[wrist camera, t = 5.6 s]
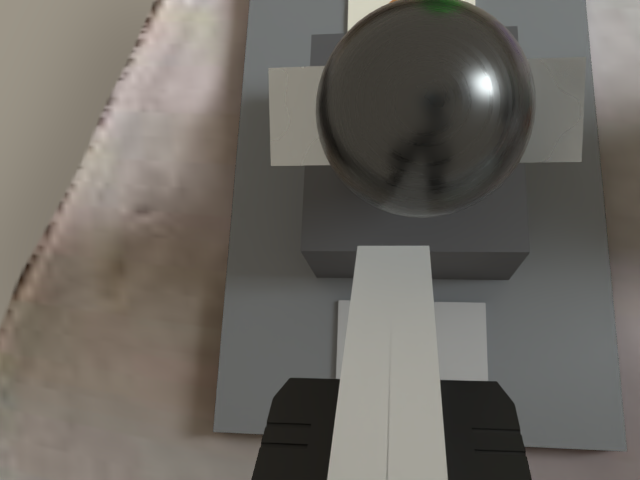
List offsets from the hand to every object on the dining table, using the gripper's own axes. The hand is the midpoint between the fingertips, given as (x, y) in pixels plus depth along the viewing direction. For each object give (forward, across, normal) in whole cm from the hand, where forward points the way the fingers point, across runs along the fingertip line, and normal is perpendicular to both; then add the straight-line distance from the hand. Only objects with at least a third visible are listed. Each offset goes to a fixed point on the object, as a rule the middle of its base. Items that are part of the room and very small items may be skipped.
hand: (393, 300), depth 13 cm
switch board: (+15, 0, -4) cm, 15 cm away
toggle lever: (+11, +1, 0) cm, 11 cm away
